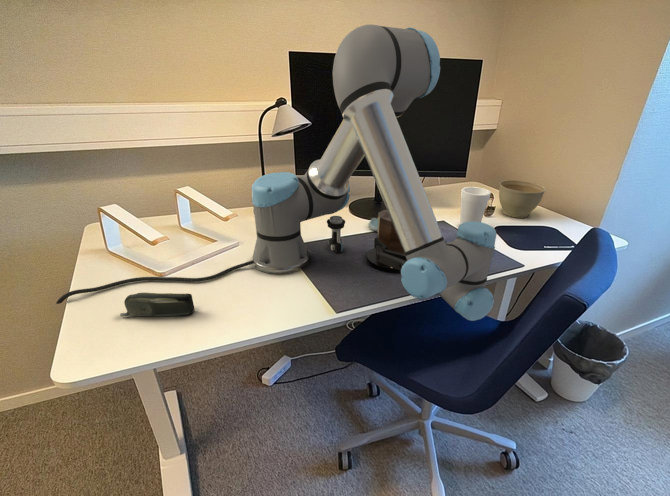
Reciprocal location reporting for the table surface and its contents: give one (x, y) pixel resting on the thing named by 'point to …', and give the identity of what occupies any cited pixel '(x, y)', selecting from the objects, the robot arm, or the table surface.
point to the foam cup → (473, 203)
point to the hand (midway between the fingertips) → (398, 239)
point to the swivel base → (377, 265)
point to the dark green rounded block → (158, 304)
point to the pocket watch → (373, 224)
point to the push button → (336, 233)
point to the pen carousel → (388, 232)
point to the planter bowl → (519, 197)
